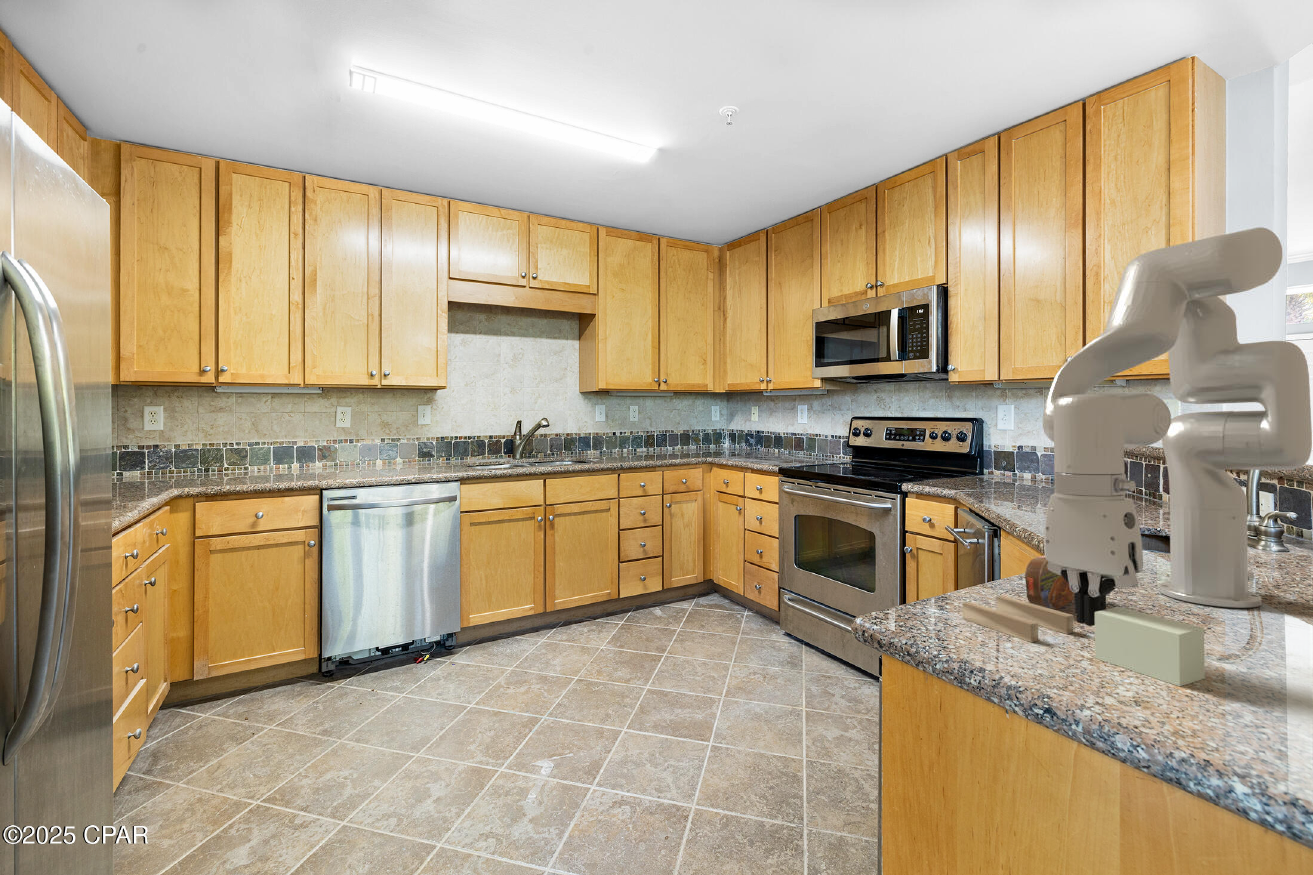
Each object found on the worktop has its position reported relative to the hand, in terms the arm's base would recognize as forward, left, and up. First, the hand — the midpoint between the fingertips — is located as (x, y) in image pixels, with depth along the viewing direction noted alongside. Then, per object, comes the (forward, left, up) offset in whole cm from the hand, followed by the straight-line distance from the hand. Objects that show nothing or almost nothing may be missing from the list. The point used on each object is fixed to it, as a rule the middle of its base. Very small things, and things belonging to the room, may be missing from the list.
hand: (1090, 622), depth 77 cm
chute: (0, -11, -4) cm, 11 cm away
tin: (-15, -15, -4) cm, 22 cm away
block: (0, +6, -4) cm, 7 cm away
